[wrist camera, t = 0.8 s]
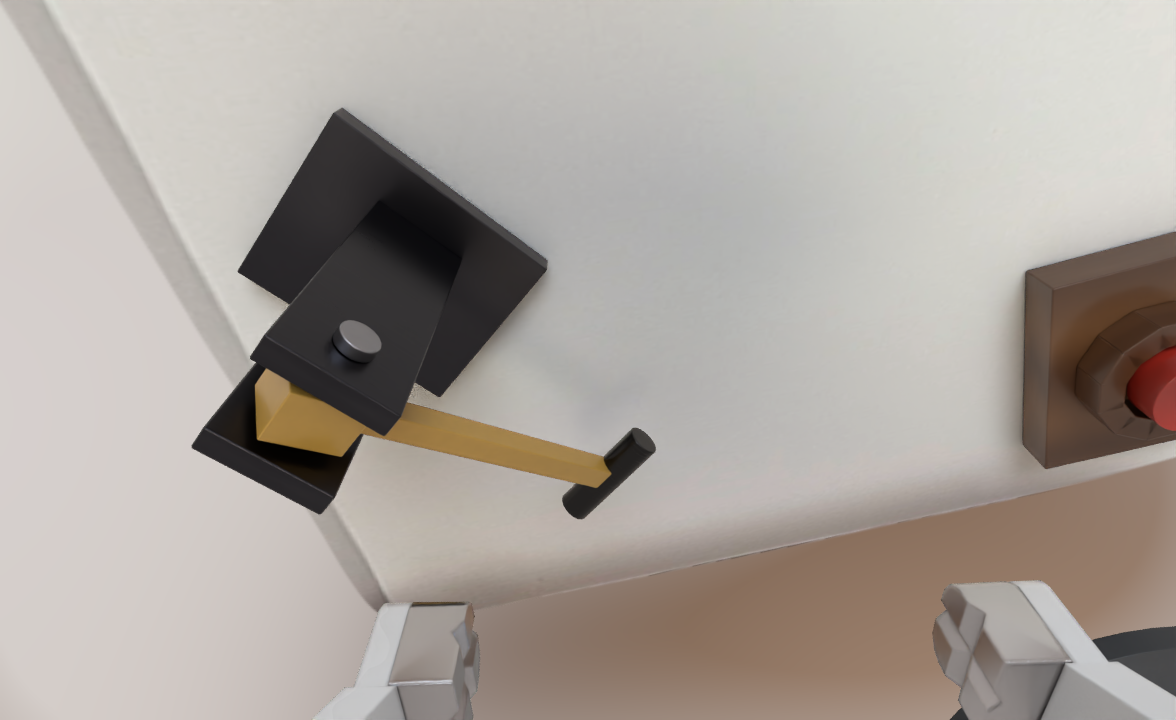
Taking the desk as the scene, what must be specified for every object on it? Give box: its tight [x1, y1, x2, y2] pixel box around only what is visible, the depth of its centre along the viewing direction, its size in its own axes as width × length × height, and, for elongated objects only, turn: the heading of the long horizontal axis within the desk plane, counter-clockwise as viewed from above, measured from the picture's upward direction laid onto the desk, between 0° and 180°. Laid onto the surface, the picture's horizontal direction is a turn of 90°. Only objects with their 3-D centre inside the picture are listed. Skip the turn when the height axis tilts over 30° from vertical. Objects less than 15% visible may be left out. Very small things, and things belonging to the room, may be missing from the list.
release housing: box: [1023, 232, 1176, 469], centre depth 34 cm, size 11×9×4 cm
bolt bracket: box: [192, 108, 547, 514], centre depth 27 cm, size 11×9×14 cm
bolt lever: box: [255, 368, 656, 519], centre depth 27 cm, size 16×5×2 cm, turn 51°
